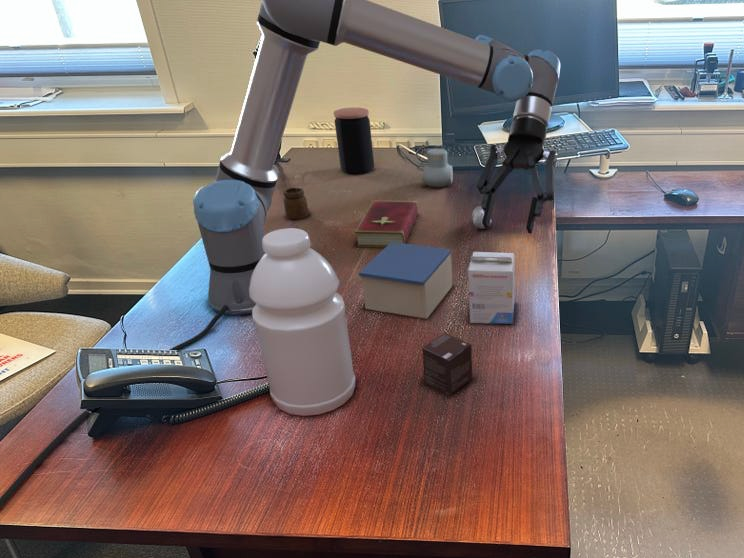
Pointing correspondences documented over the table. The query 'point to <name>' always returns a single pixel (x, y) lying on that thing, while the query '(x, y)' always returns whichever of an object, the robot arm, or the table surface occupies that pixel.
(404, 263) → the storage box lid
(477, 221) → the white bust figurine
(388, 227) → the hardcover book
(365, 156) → the coffee jar
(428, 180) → the air freshener
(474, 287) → the ink box
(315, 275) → the bottle
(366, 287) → the storage box
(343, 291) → the table surface
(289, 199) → the utensil holder
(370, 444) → the table surface
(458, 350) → the box
